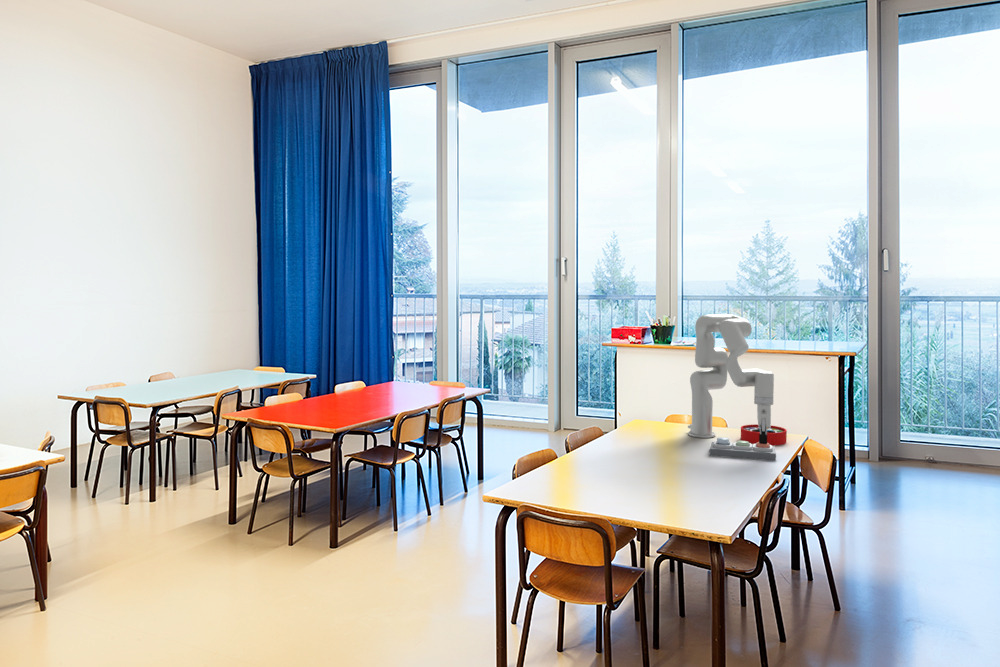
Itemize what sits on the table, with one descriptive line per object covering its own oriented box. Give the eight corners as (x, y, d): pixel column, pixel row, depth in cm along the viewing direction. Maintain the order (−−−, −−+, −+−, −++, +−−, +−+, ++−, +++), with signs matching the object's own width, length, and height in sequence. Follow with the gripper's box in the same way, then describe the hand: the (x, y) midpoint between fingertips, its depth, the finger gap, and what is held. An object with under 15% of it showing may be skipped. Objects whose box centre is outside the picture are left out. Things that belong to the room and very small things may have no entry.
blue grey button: (716, 444, 292) (716, 439, 291) (717, 441, 296) (717, 437, 296) (728, 444, 290) (729, 440, 290) (729, 442, 294) (729, 437, 294)
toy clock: (747, 432, 307) (735, 424, 327) (747, 445, 308) (735, 436, 328) (792, 433, 306) (778, 424, 326) (792, 446, 306) (778, 436, 326)
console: (709, 455, 289) (709, 445, 288) (711, 448, 302) (711, 439, 301) (775, 460, 279) (775, 450, 279) (774, 453, 292) (774, 443, 292)
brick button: (756, 448, 286) (756, 444, 286) (756, 446, 291) (756, 441, 291) (769, 449, 284) (769, 445, 284) (768, 447, 289) (769, 442, 289)
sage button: (736, 447, 289) (736, 442, 289) (736, 444, 294) (736, 440, 293) (748, 448, 287) (748, 443, 287) (748, 445, 292) (749, 441, 292)
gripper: (773, 403, 278) (773, 447, 279) (772, 398, 292) (772, 440, 293) (754, 402, 280) (753, 446, 281) (754, 397, 294) (753, 439, 295)
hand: (763, 443), depth 287 cm, fingers closed
